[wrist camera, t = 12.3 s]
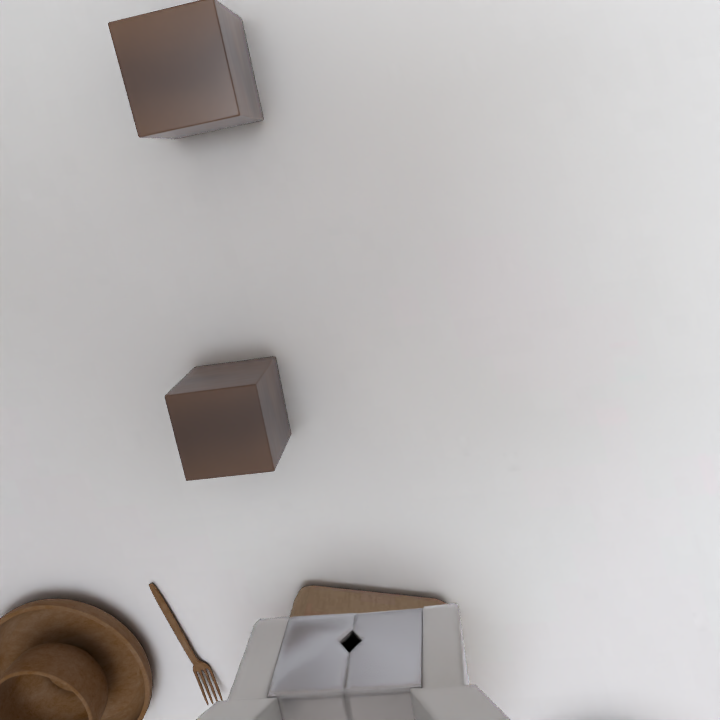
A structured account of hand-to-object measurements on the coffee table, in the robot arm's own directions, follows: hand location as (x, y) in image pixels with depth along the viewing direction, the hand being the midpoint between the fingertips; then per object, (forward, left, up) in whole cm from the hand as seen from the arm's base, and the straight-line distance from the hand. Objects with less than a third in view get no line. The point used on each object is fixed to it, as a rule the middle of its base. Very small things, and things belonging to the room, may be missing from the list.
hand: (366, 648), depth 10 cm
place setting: (-36, -9, -29) cm, 47 cm away
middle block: (-1, +15, -29) cm, 33 cm away
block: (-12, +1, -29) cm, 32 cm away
